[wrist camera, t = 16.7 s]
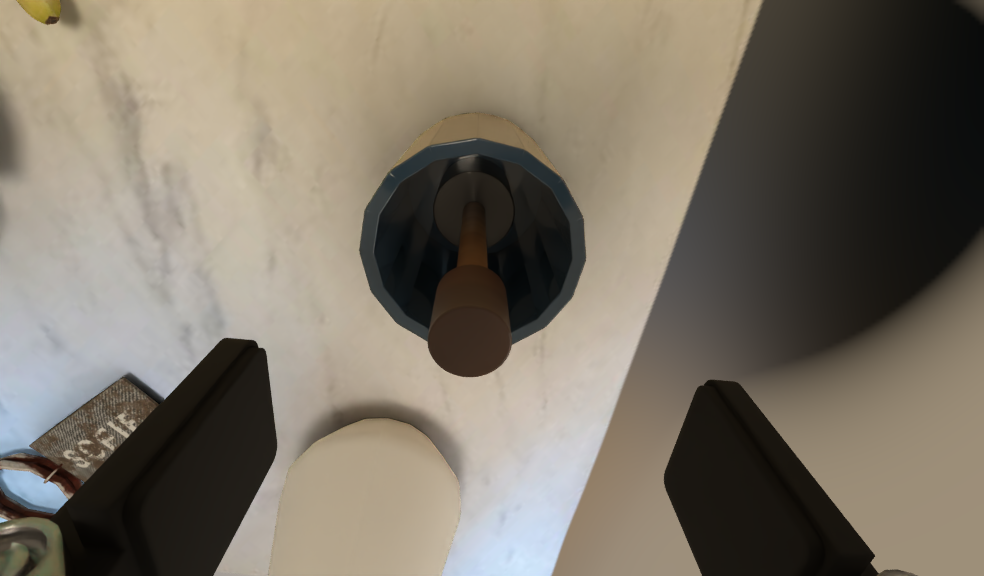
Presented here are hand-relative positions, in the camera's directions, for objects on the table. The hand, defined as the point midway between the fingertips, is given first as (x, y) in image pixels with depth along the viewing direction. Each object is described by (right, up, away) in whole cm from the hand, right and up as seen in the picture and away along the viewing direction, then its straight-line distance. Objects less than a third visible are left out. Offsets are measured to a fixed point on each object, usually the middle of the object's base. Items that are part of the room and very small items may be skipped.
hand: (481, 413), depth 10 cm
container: (-1, +9, +19) cm, 21 cm away
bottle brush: (-1, +9, +18) cm, 20 cm away
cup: (-9, -12, +29) cm, 32 cm away
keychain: (-33, -11, +27) cm, 44 cm away
